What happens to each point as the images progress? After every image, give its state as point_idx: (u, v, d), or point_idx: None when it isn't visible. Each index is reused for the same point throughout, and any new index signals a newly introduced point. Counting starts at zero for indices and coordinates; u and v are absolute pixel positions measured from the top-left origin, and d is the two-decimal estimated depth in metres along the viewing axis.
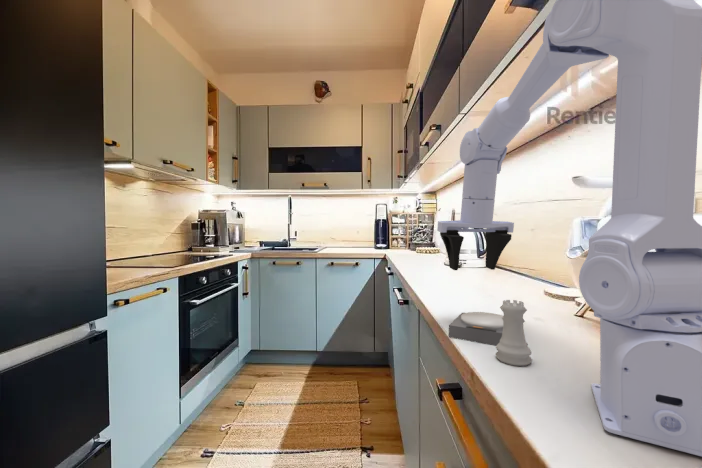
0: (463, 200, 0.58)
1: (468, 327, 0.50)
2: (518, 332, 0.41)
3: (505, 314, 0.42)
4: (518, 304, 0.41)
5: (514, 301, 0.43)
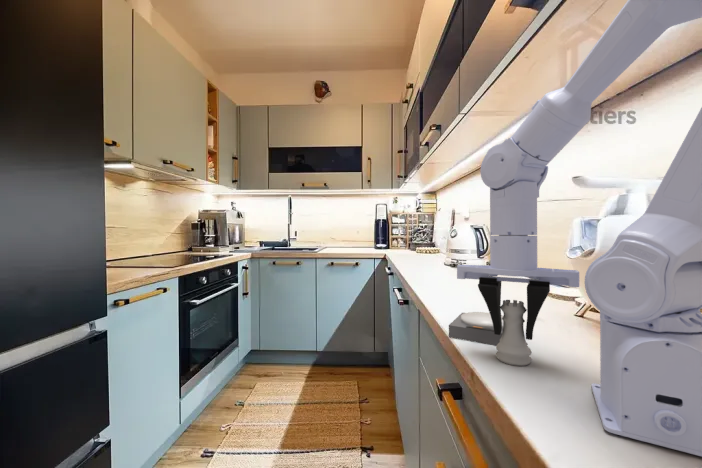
0: None
1: (468, 327, 0.50)
2: (518, 332, 0.41)
3: (505, 314, 0.42)
4: (518, 304, 0.41)
5: (514, 301, 0.43)
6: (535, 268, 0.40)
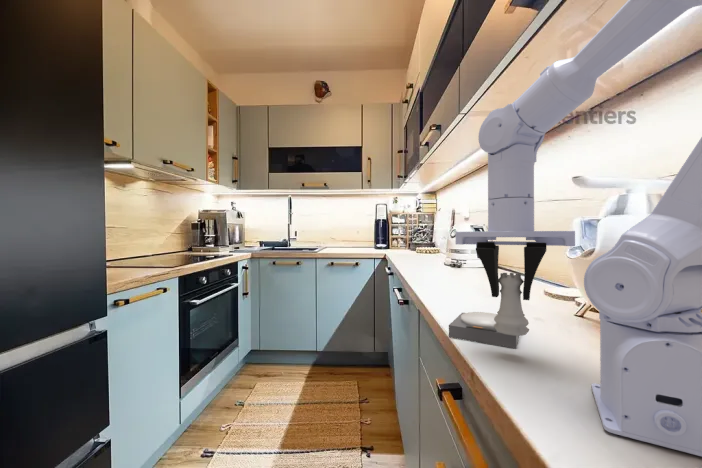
0: None
1: (468, 327, 0.50)
2: (516, 303, 0.42)
3: (503, 286, 0.43)
4: (516, 275, 0.42)
5: (511, 274, 0.44)
6: (532, 230, 0.41)
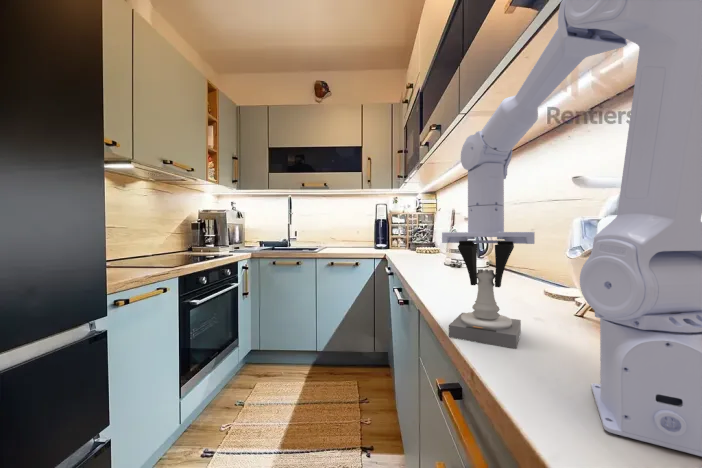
0: None
1: (468, 327, 0.50)
2: (490, 293, 0.52)
3: (480, 279, 0.53)
4: (490, 271, 0.52)
5: (486, 270, 0.54)
6: (501, 231, 0.51)
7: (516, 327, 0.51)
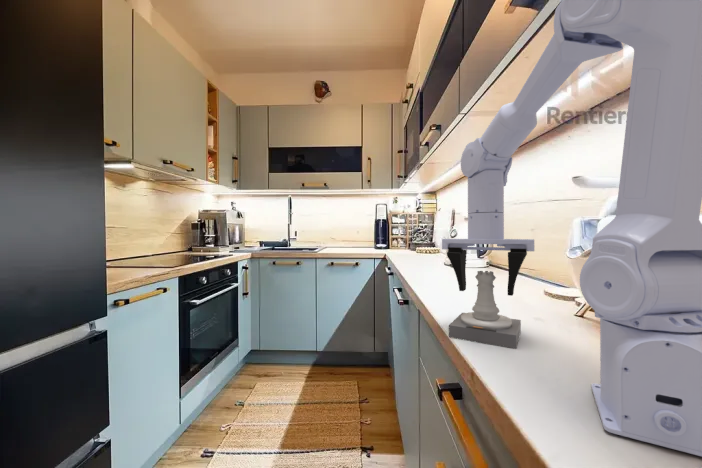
0: None
1: (468, 327, 0.50)
2: (489, 295, 0.52)
3: (479, 281, 0.53)
4: (489, 273, 0.52)
5: (486, 271, 0.54)
6: (501, 238, 0.51)
7: (516, 327, 0.51)
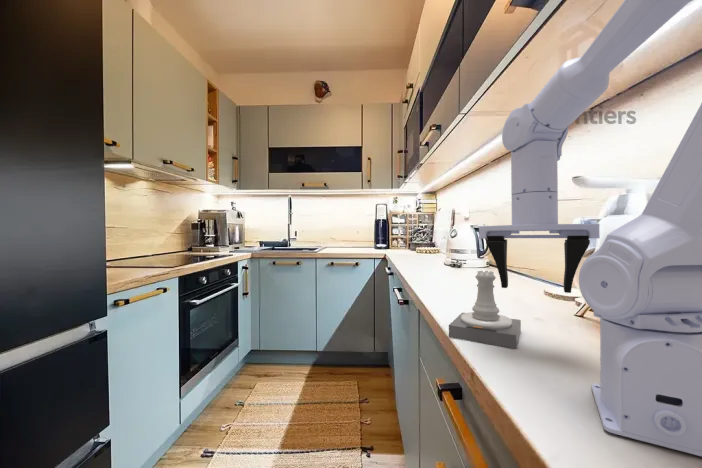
0: None
1: (468, 327, 0.50)
2: (489, 295, 0.52)
3: (479, 281, 0.53)
4: (489, 273, 0.52)
5: (486, 271, 0.54)
6: (556, 223, 0.42)
7: (516, 327, 0.51)
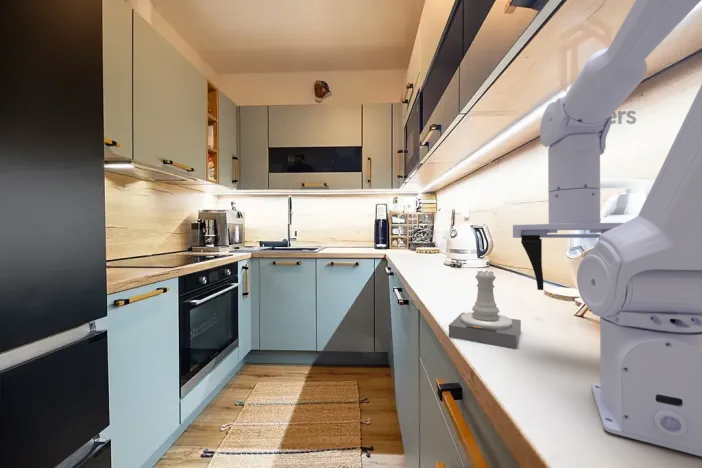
0: None
1: (468, 327, 0.50)
2: (489, 295, 0.52)
3: (479, 281, 0.53)
4: (489, 273, 0.52)
5: (486, 271, 0.54)
6: (599, 222, 0.40)
7: (516, 327, 0.51)
